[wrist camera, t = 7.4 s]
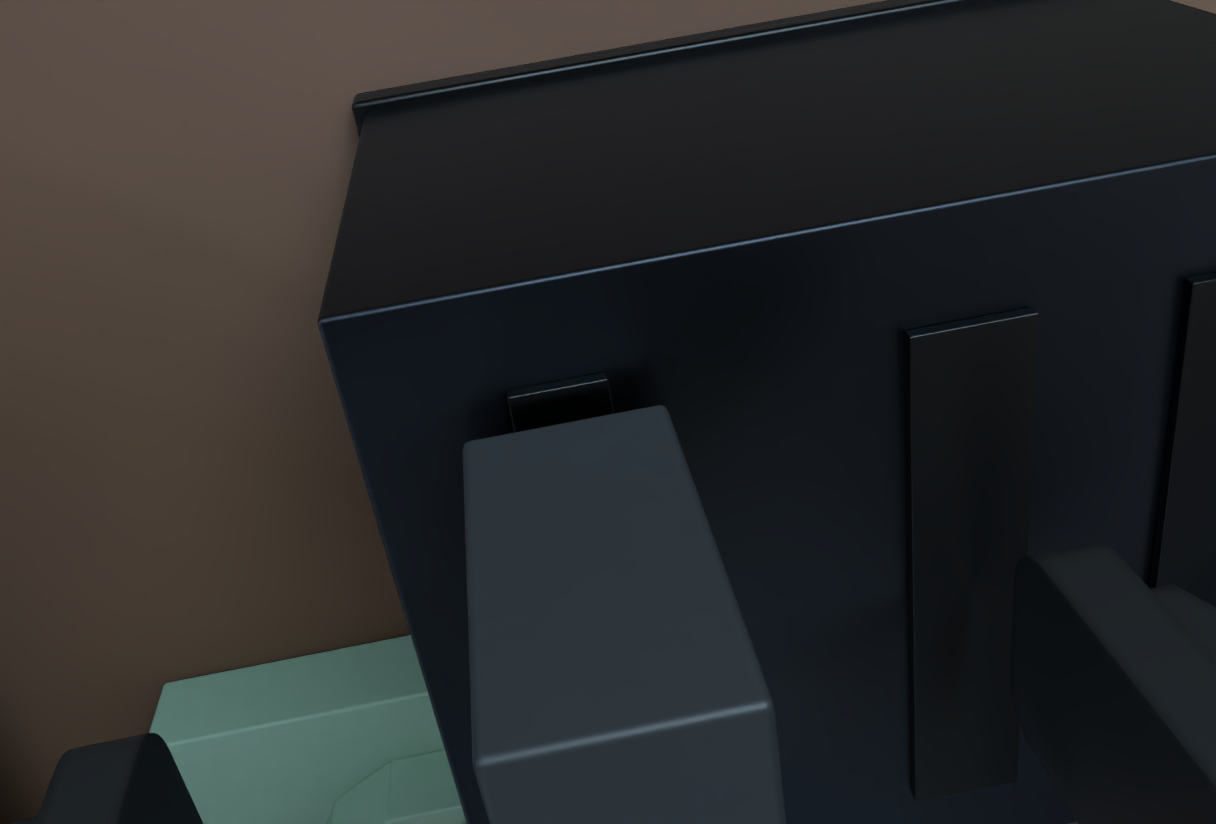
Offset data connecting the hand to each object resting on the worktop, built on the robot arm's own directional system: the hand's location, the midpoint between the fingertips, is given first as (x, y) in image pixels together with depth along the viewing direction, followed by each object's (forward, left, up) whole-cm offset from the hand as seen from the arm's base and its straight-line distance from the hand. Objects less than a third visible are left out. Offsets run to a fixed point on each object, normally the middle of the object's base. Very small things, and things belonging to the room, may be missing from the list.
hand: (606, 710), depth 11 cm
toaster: (+5, -3, -14) cm, 15 cm away
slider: (0, 0, -4) cm, 3 cm away
